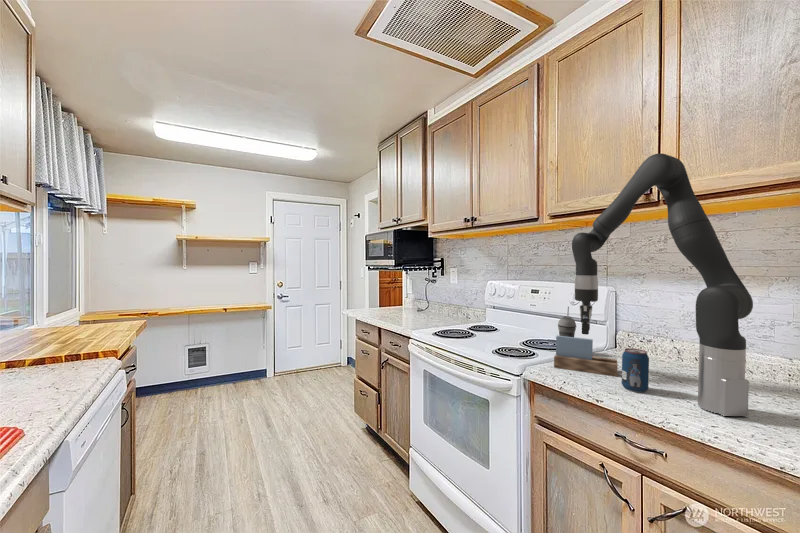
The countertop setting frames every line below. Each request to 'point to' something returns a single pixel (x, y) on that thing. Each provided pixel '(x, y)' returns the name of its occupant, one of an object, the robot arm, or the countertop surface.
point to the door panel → (574, 347)
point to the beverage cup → (567, 326)
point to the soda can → (635, 370)
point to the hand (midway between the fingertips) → (585, 332)
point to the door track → (587, 365)
